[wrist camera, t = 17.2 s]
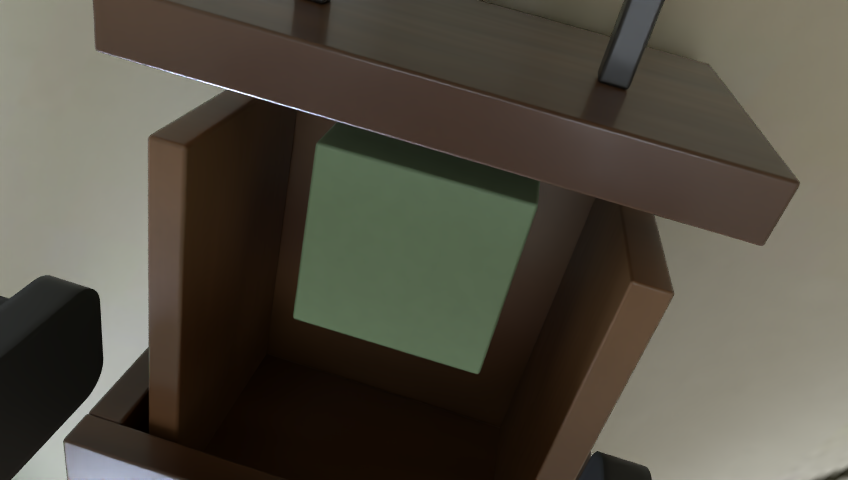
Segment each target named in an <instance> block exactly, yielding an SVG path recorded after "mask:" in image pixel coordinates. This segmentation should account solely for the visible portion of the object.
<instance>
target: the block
mask: <svg viewBox="0 0 848 480" xmlns="http://www.w3.org/2000/svg"><path fill="white" fill-rule="evenodd" d="M539 189H540V181H538V180H534V179H531V178H527V177H524V176H520V175H517V174H514V173H510V172H507V171H503V170H500V169H497V168H493V167H490V166H486V165H483V164H480V163H476V162H473V161H469V160H466V159H462V158H459V157H456V156H452V155H449V154H445V153H442V152H439V151H435V150H432V149H428V148H425V147H422V146H418V145H415V144H411V143H408V142H404V141H401V140H398V139H394V138H391V137H387V136H384V135H381V134H377V133H374V132H370V131H367V130H364V129H360V128H357V127H353V126H350V125H346V124H343V123H340V122H337V123H336V124H335V125H334V126H333V127H332V128H331V129H330V130H329V131H328V132H327V133H326V134H325V135H324V136H323V137H322V138H321V139H320V140H319V141H318V142H317V143H316V147H315V155H314V162H313V170H312V177H311V185H310V192H309V200H308V207H307V215H306V222H305V230H304V237H303V245H302V252H301V260H300V267H299V275H298V282H297V290H296V297H295V305H294V312H293V318H294V319H297V320H300V321H303V322H307V323H310V324H313V325H316V326H320V327H323V328H326V329H330V330H333V331H336V332H339V333H343V334H346V335H349V336H353V337H356V338H359V339H362V340H366V341H369V342H372V343H376V344H379V345H382V346H385V347H389V348H392V349H395V350H399V351H402V352H405V353H408V354H412V355H415V356H418V357H422V358H425V359H428V360H432V361H435V362H438V363H441V364H445V365H448V366H451V367H455V368H458V369H461V370H464V371H468V372H471V373H474V374H479V373H480V371H481V368H482V365H483V363H484V360H485V357H486V354H487V351H488V348H489V345H490V343H491V340H492V337H493V334H494V331H495V328H496V325H497V322H498V320H499V317H500V314H501V311H502V308H503V305H504V302H505V300H506V297H507V294H508V291H509V288H510V285H511V282H512V279H513V277H514V274H515V271H516V268H517V265H518V262H519V259H520V257H521V254H522V251H523V248H524V245H525V242H526V239H527V237H528V234H529V231H530V228H531V225H532V222H533V219H534V216H535V214H536V211H537V208H538V199H539Z"/></svg>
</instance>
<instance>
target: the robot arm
mask: <svg viewBox="0 0 848 480" xmlns="http://www.w3.org/2000/svg"><path fill="white" fill-rule="evenodd" d="M102 367H103V346H102V328H101V311H100V298H99V295H98V293H97V292H96V291H95V290H94V289H91V288H88V287H84V286H81V285H78V284H75V283H72V282H69V281H66V280H62V279H59V278H56V277H53V276H50V275H45V276H41V277H39V278H37V279H35V280H34V281H32V282H31V283H30V284H28V285H27V286H26V287H24V288H23V289H22V290H20V291H19V292H18V293H16V294H15V295H14V296H12V297H11V298H10V299H8V298H5V297H2V296H0V480H11V479H12V478H13V477H14V476H15V475H16V474H17V473H18V472H19V471H20V470H21V468H22V467H23V466H24V465H25V464H26V463H27V462H28V461H29V460H30V459H31V458H32V457H33V456H34V455H35V453H36V452H37V451H38V450H39V449H40V448H41V447H42V446H43V445H44V444H45V443H46V442H47V441H48V440H49V439H50V437H51V436H52V435H53V434H54V433H55V432H56V431H57V430H58V429H59V428H60V427H61V426H62V425H63V424H64V422H65V421H66V420H67V419H68V418H69V417H70V416H71V415H72V414H73V413H74V412H75V411H76V410H77V409H78V407H79V406H80V405H81V404H82V403H83V402H84V401H85V400H86V399H87V398H88V396H89V395H90V394H91V392H92V391H93V389H94V387H95V386H96V384H97V382H98V379H99V377H100V374H101V371H102ZM579 480H652V479H651V474H650V471H649V470H648V468H647V467H645V466H642V465H639V464H636V463H633V462H630V461H627V460H623V459H620V458H617V457H614V456H611V455H608V454H605V453H601V452H598V451H597V452H595V453H594V454H593V455H592V456H591V458H590V460H589V461H588V463H587V465H586V467H585V469H584V471H583V472H582V474H581V476H580V478H579Z"/></svg>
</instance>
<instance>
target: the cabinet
mask: <svg viewBox="0 0 848 480" xmlns="http://www.w3.org/2000/svg"><path fill="white" fill-rule="evenodd" d="M63 443H64V452H65V462H66V471H67V480H287V479H284V478H281V477H278V476H275V475H272V474H269V473H266V472H263V471H260V470H257V469H254V468H251V467H248V466H245V465H242V464H238V463H235V462H232V461H229V460H226V459H223V458H220V457H217V456H214V455H211V454H208V453H205V452H202V451H199V450H196V449H193V448H190V447H187V446H184V445H181V444H178V443H175V442H172V441H169V440H166V439H163V438H160V437H157V436H154V435H150V434H149V347H148V348H147V349H146V350H145V351H144V352H143V354H142V355H141V356H140V357H139V358H138V359H137V360H136V361H135V362H134V363H133V365H132V366H131V367H130V368H129V369H128V370H127V371H126V372H125V373H124V374H123V375H122V377H121V378H120V379H119V380H118V381H117V382H116V383H115V384H114V385H113V386H112V388H111V389H110V390H109V391H108V392H107V393H106V394H105V395H104V396H103V397H102V399H101V400H100V401H99V402H98V403H97V404H96V405H95V406H94V407H93V408H92V409H91V411H90V412H89V414H87V415H85V417H84V418H83V419H82V420H81V421H80V422H79V423H78V424H77V425H76V426H75V428H74V429H73V430H72V431H71V432H70V433H69V434H68V435H67V436H66V437H65V439H64V441H63ZM590 458H591V451H590V453H589V455H588V457H587V459H586V460H585V462H584V464H583V466H582V468H581V470H580V472H579V474H578V475H577V477H576V479H575V480H579V478H580V476H581V474H582V472H583V471H584V469H585V467H586V465H587V463H588V461H589V460H590Z"/></svg>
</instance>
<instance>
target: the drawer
mask: <svg viewBox="0 0 848 480" xmlns="http://www.w3.org/2000/svg"><path fill="white" fill-rule="evenodd" d="M664 1H665V0H624V2H623V5H622V8H621V10H620V13H619V16H618V18H617V21H616V24H615V26H614V29H613V32H612V35H611V37H609V36H606V35H602V34H598V33H595V32H591V31H588V30H584V29H580V28H577V27H573V26H570V25H566V24H562V23H559V22H555V21H552V20H548V19H544V18H541V17H537V16H534V15H530V14H526V13H523V12H519V11H516V10H512V9H508V8H505V7H501V6H498V5H494V4H490V3H487V2H483V1H480V0H93V10H94V32H95V49H96V51H98V52H101V53H104V54H108V55H111V56H115V57H118V58H121V59H125V60H128V61H132V62H135V63H138V64H142V65H145V66H149V67H152V68H155V69H159V70H162V71H166V72H169V73H173V74H176V75H179V76H183V77H186V78H190V79H193V80H196V81H200V82H203V83H207V84H210V85H213V86H217V87H220V88H224V89H227V90H225V91H223V92H222V93H220V94H218V95H217V96H215V97H213V98H211V99H210V100H208V101H206V102H205V103H203V104H201V105H200V106H198V107H196V108H195V109H193V110H191V111H190V112H188V113H186V114H185V115H183V116H181V117H180V118H178V119H176V120H175V121H173V122H171V123H170V124H168V125H166V126H165V127H163V128H161V129H160V130H158V131H156V132H155V133H153V134H151V135H150V136H149V138H148V287H149V434H150V435H154V436H157V437H160V438H163V439H166V440H169V441H172V442H175V443H178V444H181V445H184V446H187V447H190V448H193V449H196V450H199V451H202V452H205V453H208V454H211V455H214V456H217V457H220V458H223V459H226V460H229V461H232V462H235V463H238V464H242V465H245V466H248V467H251V468H254V469H257V470H260V471H263V472H266V473H269V474H272V475H275V476H278V477H281V478H284V479H287V480H575V479H576V477H577V475H578V474H579V472H580V470H581V468H582V466H583V464H584V462H585V460H586V459H587V457H588V455H589V453H590V451H591V449H592V447H593V446H594V444H595V442H596V440H597V438H598V436H599V434H600V432H601V431H602V429H603V427H604V425H605V423H606V421H607V419H608V417H609V416H610V414H611V412H612V410H613V408H614V406H615V404H616V403H617V401H618V399H619V397H620V395H621V393H622V391H623V389H624V388H625V386H626V384H627V382H628V380H629V378H630V376H631V374H632V373H633V371H634V369H635V367H636V365H637V363H638V361H639V360H640V358H641V356H642V354H643V352H644V350H645V348H646V346H647V345H648V343H649V341H650V339H651V337H652V335H653V333H654V332H655V330H656V328H657V326H658V324H659V322H660V320H661V318H662V317H663V315H664V313H665V311H666V309H667V307H668V305H669V303H670V302H671V300H672V298H673V296H674V291H673V287H672V283H671V279H670V275H669V271H668V267H667V263H666V259H665V255H664V251H663V247H662V243H661V239H660V235H659V231H658V227H657V223H656V219H655V215H657V216H660V217H664V218H667V219H671V220H674V221H677V222H681V223H684V224H688V225H691V226H694V227H698V228H701V229H705V230H708V231H711V232H715V233H718V234H722V235H725V236H729V237H732V238H735V239H739V240H742V241H746V242H749V243H752V244H756V245H759V246H763V245H764V244H765V242H766V241H767V239H768V237H769V236H770V234H771V232H772V231H773V229H774V227H775V226H776V224H777V222H778V221H779V219H780V217H781V216H782V214H783V212H784V211H785V209H786V207H787V206H788V204H789V202H790V200H791V199H792V197H793V195H794V194H795V192H796V190H797V189H798V187H799V184H800V182H799V180H798V179H797V178H796V177H795V175H794V174H793V173H792V171H791V170H790V169H789V167H788V166H787V165H786V164H785V162H784V161H783V160H782V158H781V157H780V156H779V154H778V153H777V152H776V151H775V149H774V148H773V147H772V145H771V144H770V143H769V141H768V140H767V139H766V138H765V136H764V135H763V134H762V132H761V131H760V130H759V128H758V127H757V126H756V124H755V123H754V122H753V121H752V119H751V118H750V117H749V115H748V114H747V113H746V111H745V110H744V109H743V108H742V106H741V105H740V104H739V102H738V101H737V100H736V98H735V97H734V96H733V95H732V93H731V92H730V91H729V89H728V88H727V87H726V85H725V84H724V83H723V82H722V80H721V79H720V78H719V76H718V75H717V74H716V72H715V71H714V70H713V68H712V67H711V66H710V65H709V64H707V63H703V62H699V61H696V60H692V59H689V58H685V57H681V56H678V55H674V54H671V53H667V52H663V51H660V50H656V49H652V48H649V47H646V45H647V43H648V40H649V38H650V35H651V33H652V30H653V28H654V26H655V23H656V21H657V18H658V16H659V13H660V11H661V8H662V6H663V3H664ZM337 122H340V123H343V124H346V125H350V126H353V127H357V128H360V129H364V130H367V131H370V132H374V133H377V134H381V135H384V136H387V137H391V138H394V139H398V140H401V141H404V142H408V143H411V144H415V145H418V146H422V147H425V148H428V149H432V150H435V151H439V152H442V153H445V154H449V155H452V156H456V157H459V158H462V159H466V160H469V161H473V162H476V163H480V164H483V165H486V166H490V167H493V168H497V169H500V170H503V171H507V172H510V173H514V174H517V175H520V176H524V177H527V178H531V179H534V180H538V181H540V189H539V199H538V208H537V211H536V214H535V216H534V219H533V222H532V225H531V228H530V231H529V234H528V237H527V239H526V242H525V245H524V248H523V251H522V254H521V257H520V259H519V262H518V265H517V268H516V271H515V274H514V277H513V279H512V282H511V285H510V288H509V291H508V294H507V297H506V300H505V302H504V305H503V308H502V311H501V314H500V317H499V320H498V322H497V325H496V328H495V331H494V334H493V337H492V340H491V343H490V345H489V348H488V351H487V354H486V357H485V360H484V363H483V365H482V368H481V371H480V373H479V374H474V373H471V372H468V371H464V370H461V369H458V368H455V367H451V366H448V365H445V364H441V363H438V362H435V361H432V360H428V359H425V358H422V357H418V356H415V355H412V354H408V353H405V352H402V351H399V350H395V349H392V348H389V347H385V346H382V345H379V344H376V343H372V342H369V341H366V340H362V339H359V338H356V337H353V336H349V335H346V334H343V333H339V332H336V331H333V330H330V329H326V328H323V327H320V326H316V325H313V324H310V323H307V322H303V321H300V320H297V319H294V318H293V312H294V305H295V297H296V290H297V282H298V275H299V267H300V260H301V252H302V245H303V237H304V230H305V222H306V215H307V207H308V200H309V192H310V185H311V177H312V170H313V162H314V155H315V147H316V143H317V142H318V141H319V140H320V139H321V138H322V137H323V136H324V135H325V134H326V133H327V132H328V131H329V130H330V129H331V128H332V127H333V126H334V125H335V124H336V123H337Z"/></svg>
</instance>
